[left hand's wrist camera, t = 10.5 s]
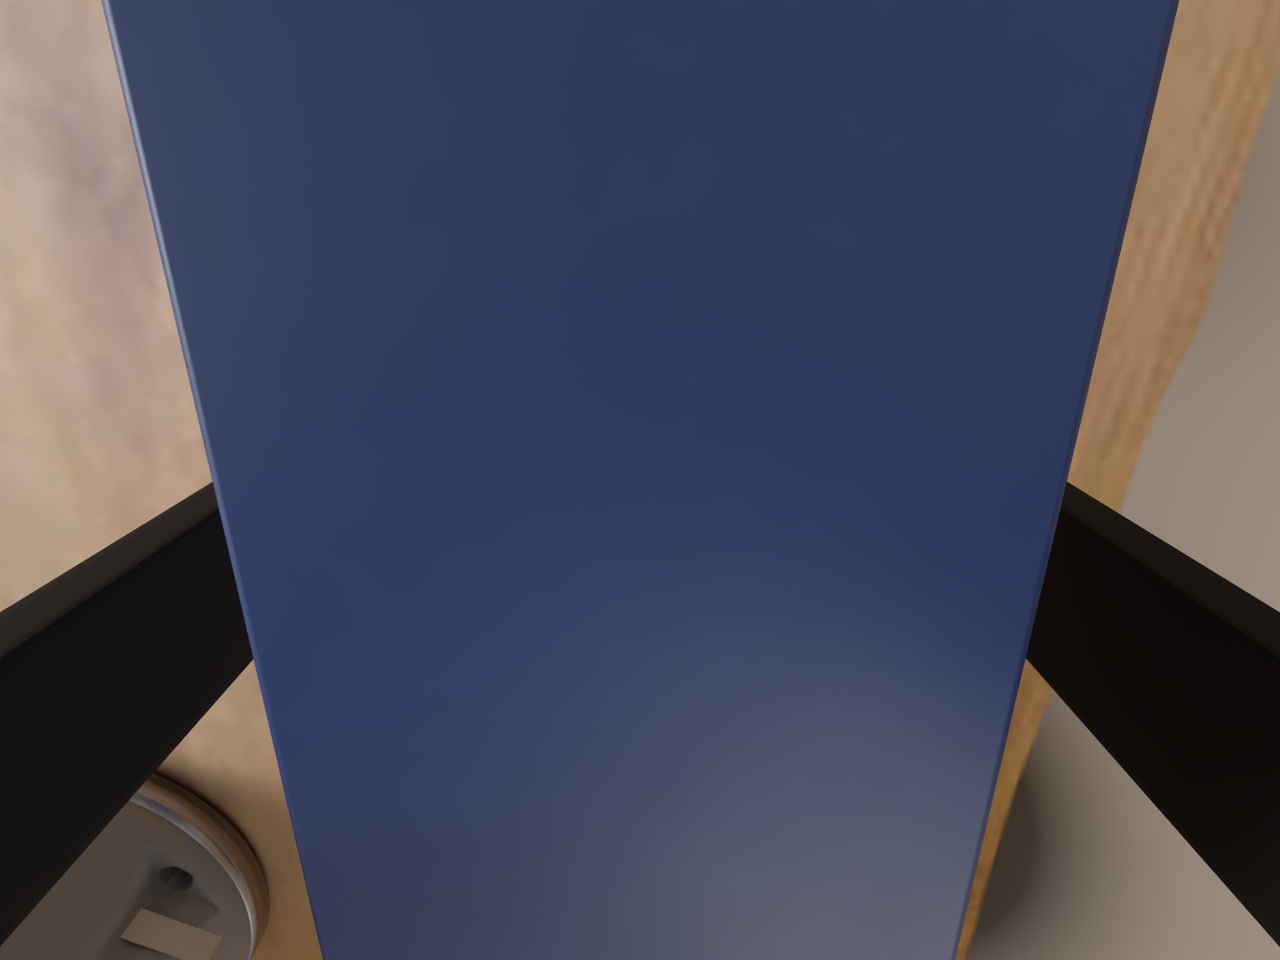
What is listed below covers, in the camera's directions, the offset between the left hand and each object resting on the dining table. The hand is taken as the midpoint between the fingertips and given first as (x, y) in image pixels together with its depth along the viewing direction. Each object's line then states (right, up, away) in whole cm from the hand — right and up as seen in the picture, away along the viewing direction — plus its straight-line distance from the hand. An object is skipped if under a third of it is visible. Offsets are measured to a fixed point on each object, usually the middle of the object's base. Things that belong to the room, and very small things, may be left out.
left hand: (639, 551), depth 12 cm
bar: (0, +15, -3) cm, 15 cm away
